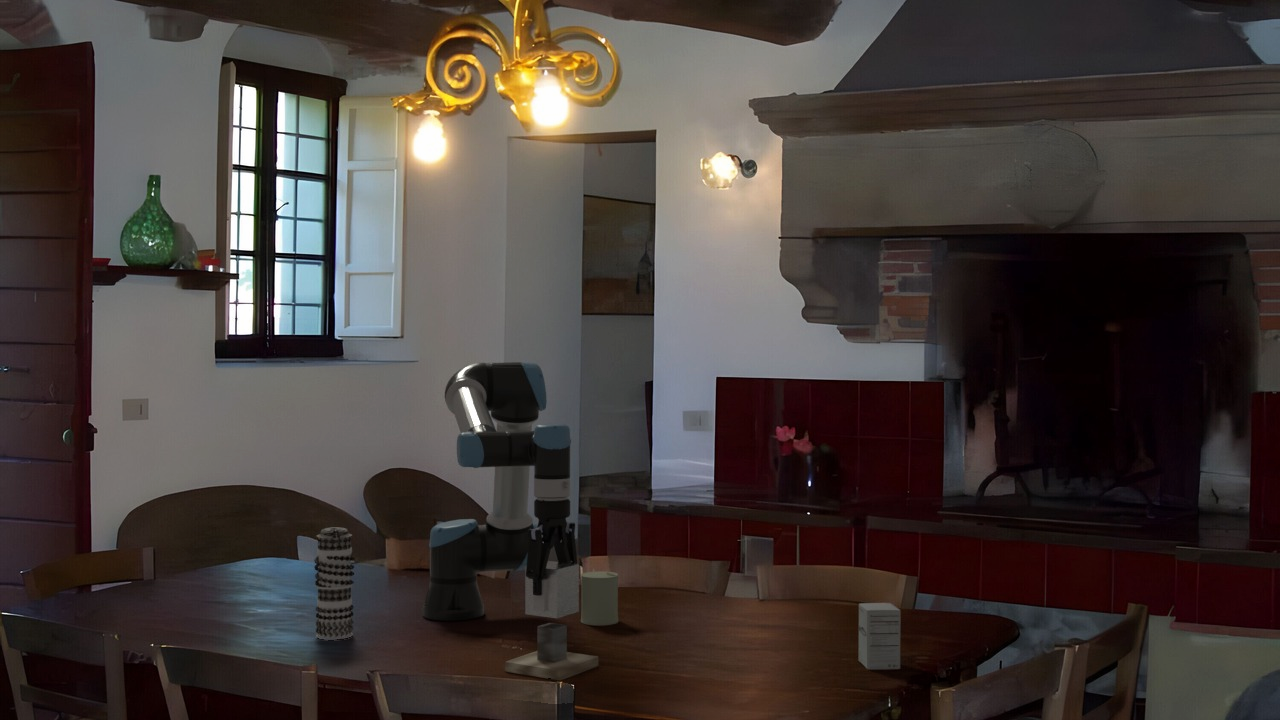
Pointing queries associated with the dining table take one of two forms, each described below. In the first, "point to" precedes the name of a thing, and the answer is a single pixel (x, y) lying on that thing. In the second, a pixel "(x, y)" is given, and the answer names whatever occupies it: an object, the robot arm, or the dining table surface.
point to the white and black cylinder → (334, 584)
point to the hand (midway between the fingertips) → (552, 607)
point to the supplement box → (879, 636)
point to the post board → (550, 667)
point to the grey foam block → (556, 590)
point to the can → (599, 598)
